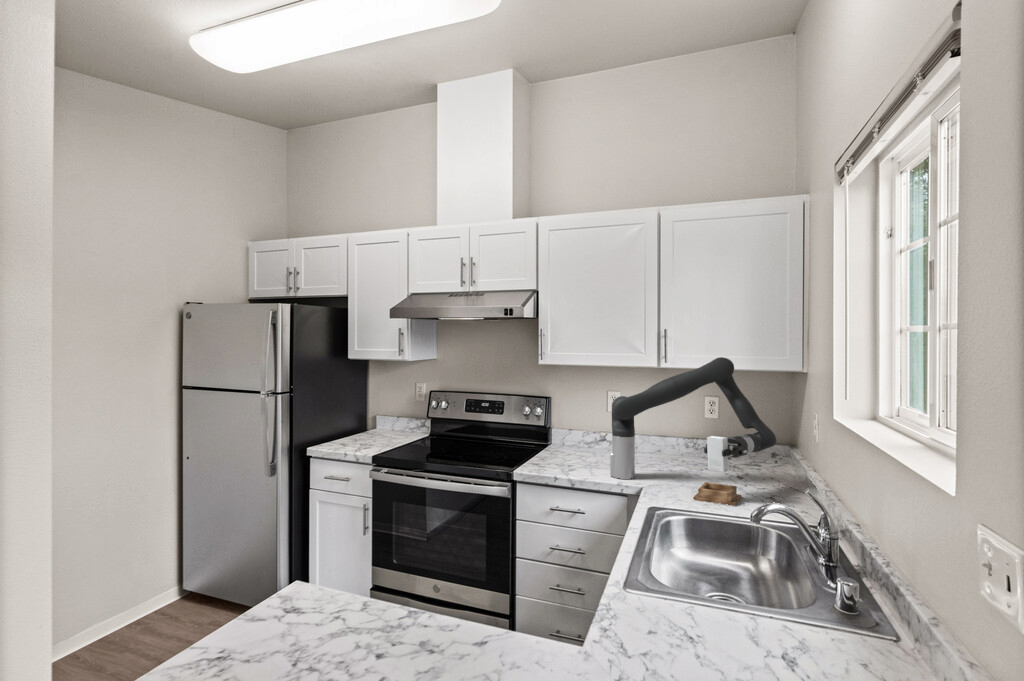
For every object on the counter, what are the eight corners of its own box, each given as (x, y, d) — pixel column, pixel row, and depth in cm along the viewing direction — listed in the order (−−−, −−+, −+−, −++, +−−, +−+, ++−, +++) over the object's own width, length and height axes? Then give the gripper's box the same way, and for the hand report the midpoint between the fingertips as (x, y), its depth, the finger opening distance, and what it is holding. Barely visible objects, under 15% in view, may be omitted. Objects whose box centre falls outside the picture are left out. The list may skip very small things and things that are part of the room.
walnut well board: (693, 499, 197) (693, 488, 197) (701, 491, 207) (701, 481, 207) (735, 506, 189) (735, 494, 189) (741, 497, 199) (741, 486, 199)
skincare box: (728, 470, 198) (728, 437, 198) (723, 473, 194) (723, 439, 194) (712, 468, 202) (711, 435, 202) (706, 470, 199) (706, 436, 198)
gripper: (721, 433, 212) (696, 438, 202) (757, 438, 201) (732, 444, 191) (721, 452, 212) (696, 459, 202) (757, 459, 201) (732, 466, 191)
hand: (714, 452), depth 197 cm, fingers closed on skincare box, 6 cm apart
